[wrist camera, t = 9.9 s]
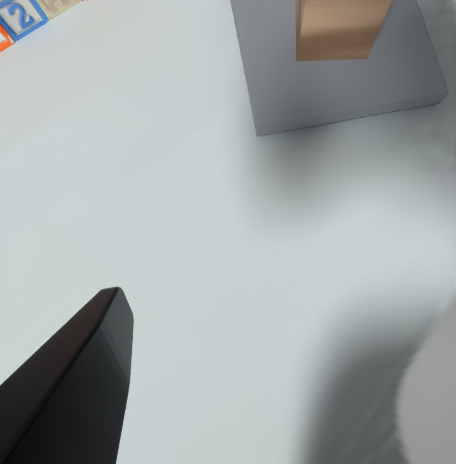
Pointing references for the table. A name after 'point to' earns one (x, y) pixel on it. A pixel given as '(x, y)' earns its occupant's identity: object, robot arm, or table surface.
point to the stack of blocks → (27, 17)
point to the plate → (333, 69)
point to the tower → (337, 28)
